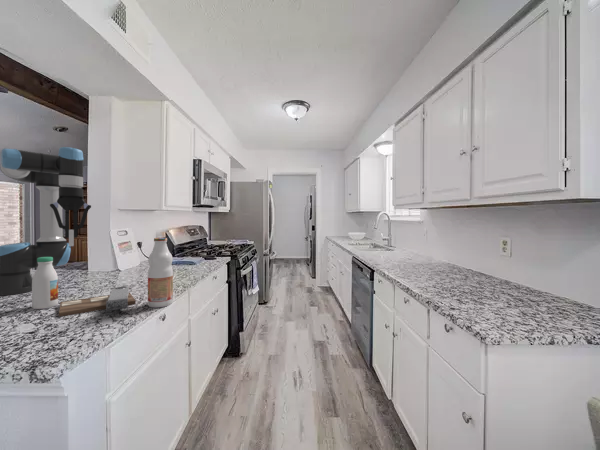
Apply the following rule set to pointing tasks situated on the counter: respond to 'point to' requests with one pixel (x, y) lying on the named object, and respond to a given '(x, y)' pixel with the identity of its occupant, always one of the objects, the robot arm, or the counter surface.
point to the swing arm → (118, 299)
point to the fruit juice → (160, 275)
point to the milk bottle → (44, 285)
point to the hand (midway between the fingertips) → (71, 245)
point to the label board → (87, 305)
